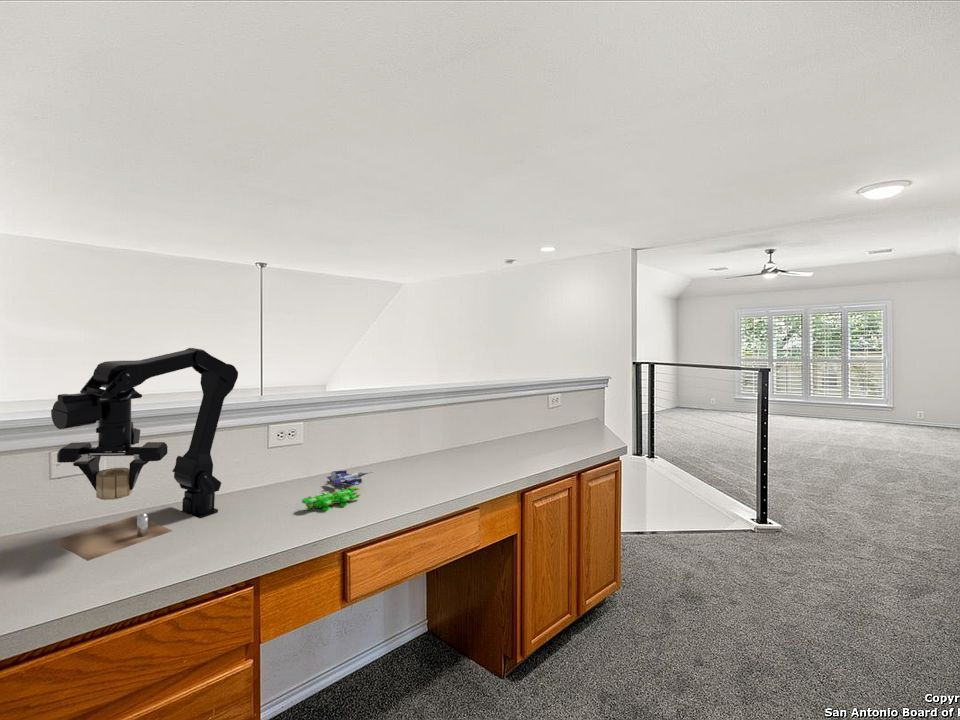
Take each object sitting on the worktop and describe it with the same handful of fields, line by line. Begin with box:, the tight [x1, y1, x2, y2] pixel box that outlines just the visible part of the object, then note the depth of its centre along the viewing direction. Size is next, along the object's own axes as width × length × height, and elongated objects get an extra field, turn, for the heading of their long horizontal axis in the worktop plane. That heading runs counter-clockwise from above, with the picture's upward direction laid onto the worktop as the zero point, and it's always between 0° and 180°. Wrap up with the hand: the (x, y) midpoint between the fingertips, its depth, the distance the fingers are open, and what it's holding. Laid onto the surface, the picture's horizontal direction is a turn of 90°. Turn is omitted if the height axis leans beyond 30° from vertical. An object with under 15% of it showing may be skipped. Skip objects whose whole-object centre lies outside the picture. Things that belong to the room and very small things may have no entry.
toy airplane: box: [326, 470, 373, 490], centre depth 157 cm, size 13×14×4 cm
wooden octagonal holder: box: [95, 467, 133, 501], centre depth 108 cm, size 6×6×5 cm
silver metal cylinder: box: [137, 512, 149, 537], centre depth 111 cm, size 2×2×5 cm
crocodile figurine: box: [301, 486, 362, 512], centre depth 140 cm, size 7×18×4 cm, turn 136°
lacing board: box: [52, 514, 173, 561], centre depth 110 cm, size 17×14×2 cm
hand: (114, 489), depth 108 cm, fingers closed on wooden octagonal holder, 6 cm apart
